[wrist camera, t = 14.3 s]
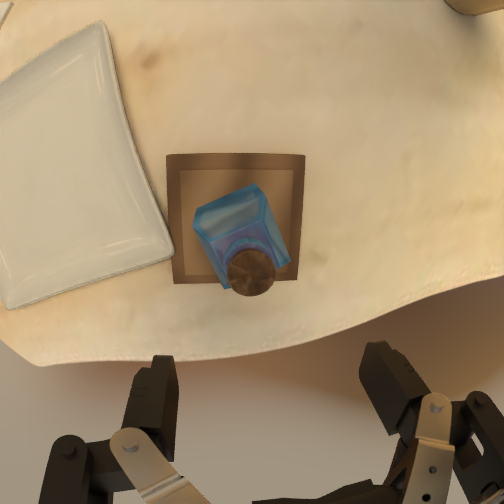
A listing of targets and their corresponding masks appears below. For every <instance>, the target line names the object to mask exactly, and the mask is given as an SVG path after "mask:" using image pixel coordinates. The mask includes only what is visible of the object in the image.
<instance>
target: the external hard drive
mask: <svg viewBox="0 0 504 504" xmlns="http://www.w3.org/2000/svg"><path fill="white" fill-rule="evenodd" d="M13 5H14V3H12V2H0V29H1V27H2V25H3V23H4V21H5V19H6V17H7V15H8V13H9V12H10V10H11V8H12V6H13Z"/></svg>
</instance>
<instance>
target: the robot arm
mask: <svg viewBox="0 0 504 504" xmlns="http://www.w3.org/2000/svg"><path fill="white" fill-rule="evenodd" d="M445 1H446V2H447V3H448V4H449V5H450V6H451V7H452V8H453V9H455V10H456V11H458V12H459V13H461V14H464V15H470V14H473V15H475V16H477V15H481V14H485V13H489V12H493V11H497V10H502V9H504V0H445ZM359 378H360V381H361V383H362V385H363V387H364V389H365V391H366V393H367V395H368V396H369V398H370V400H371V402H372V404H373V406H374V408H375V410H376V412H377V413H378V415H379V417H380V419H381V421H382V423H383V425H384V427H385V429H386V431H387V433H388V435H389V436H390V435H393V434H396V433H399V434H400V436H401V437H400V438H399V440H398V443H397V447H396V450H395V454H394V457H393V460H392V463H391V466H390V470H389V472H388V475H387V477H386V479H385V480H384V482H383V484H382V485H373V483H372V481H371V479H368V480H365V481H361V482H358V483H354V484H350V485H346V486H343V487H342V488H339V489H337V490H335V491H334V492H331V493H329V494H327V495H325V496H322V497H320V498H318V499H292V498H278V499H270V500H260V501H252V504H446V500H447V495H448V490H449V485H450V479H451V474H452V468H453V470H454V472H455V474H456V476H457V478H458V480H459V483H460V485H461V487H462V489H463V491H464V493H465V495H466V497H467V499H468V502H469V504H504V416H503V415H502V414H501V412H500V411H499V410H498V408H497V407H496V405H495V404H494V403H493V401H492V400H491V399H490V397H489V396H488V395H487V394H485V393H483V392H480V391H473V392H471V393H469V395H468V396H467V398H466V400H465V401H452V402H450V401H449V399H448V398H447V397H445V396H444V395H442V394H438V393H432V392H431V391H430V390H429V388H428V387H427V386H426V384H425V383H424V381H423V380H422V379H421V377H420V376H419V375H418V373H417V372H416V371H415V369H414V368H413V367H412V365H410V363H409V361H408V360H407V359H406V357H405V356H404V355H403V354H401V353H400V352H398V351H397V350H395V349H394V350H392V349H391V347H390V346H389V344H388V343H387V342H386V341H385V340H381V341H375V342H369V343H367V345H366V348H365V351H364V354H363V358H362V361H361V364H360V367H359ZM178 400H179V386H178V379H177V375H176V368H175V364H174V358H173V356H167V355H154V357H153V360H152V365H151V368H141V369H140V370H139V371H138V373H137V374H136V375H135V376H134V379H133V383H132V388H131V391H130V396H129V398H128V402H127V406H126V411H125V415H124V419H123V423H122V427H121V429H120V430H118V431H117V432H115V434H113V436H112V437H111V438H110V439H108V440H104V441H98V442H90V443H85V442H84V441H83V440H82V439H81V438H80V437H78V436H74V435H65V436H62V437H60V438H58V439H57V440H56V441H55V442H54V444H53V446H52V449H51V452H50V456H49V460H48V463H47V467H46V471H45V476H44V480H43V484H42V489H41V493H40V499H39V504H113V493H114V492H120V491H126V490H133V489H137V491H138V492H139V494H140V495H141V496H142V498H143V499H144V501H145V502H146V503H147V504H211V503H210V502H209V501H208V500H207V499H206V498H205V497H204V496H203V495H202V494H201V493H200V492H199V491H198V490H197V489H196V488H195V487H194V486H193V485H192V484H191V483H190V482H189V481H188V480H187V479H186V478H185V477H184V476H181V475H179V473H178V472H177V471H176V470H175V469H174V468H173V467H172V466H171V464H170V463H169V462H174V450H175V436H176V422H177V410H178ZM474 433H475V434H476V436H477V438H478V439H479V441H480V443H481V444H482V446H483V448H484V453H483V456H482V455H481V453H480V451H479V450H478V448H477V446H476V445H475V443H474V441H473V439H472V438H471V437H472V435H473V434H474Z"/></svg>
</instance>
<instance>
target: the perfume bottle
mask: <svg viewBox="0 0 504 504" xmlns="http://www.w3.org/2000/svg"><path fill="white" fill-rule="evenodd" d="M192 226H193V228H194V231H195V233H196V235H197V237H198V239H199V241H200V243H201V245H202V247H203V249H204V251H205V253H206V255H207V257H208V258H209V260H210V262H211V264H212V266H213V268H214V270H215V272H216V274H217V276H218V278H219V280H220V282H221V284H222V286H223V288H224V289H228V288H232V289H233V290H234V291H235V292H237V293H238V294H241V295H244V296H257V295H260V294H262V293H264V292H266V291H267V290H268V289H269V288H270V287H271V286H272V285H273V283H274V281H275V279H276V269H278V268H280V267H282V266H284V265H285V264H287V263H289V262H290V261H291V259H290V256H289V254H288V251H287V249H286V246H285V244H284V241H283V238H282V236H281V233H280V231H279V228H278V226H277V223H276V221H275V218H274V216H273V213H272V211H271V208H270V206H269V203H268V201H267V198H266V196H265V194H264V193H263V192H262V190H261V189H260V188H259V187H258V186H257V185H256V184H255V183H253V184H251V185H249V186H246V187H244V188H242V189H239V190H237V191H235V192H232V193H230V194H228V195H225V196H223V197H221V198H219V199H216V200H214V201H212V202H210V203H207V204H205V205H203V206H201V207H198V208H197V209H196V213H195V217H194V220H193V224H192Z"/></svg>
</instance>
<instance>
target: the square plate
mask: <svg viewBox="0 0 504 504" xmlns="http://www.w3.org/2000/svg"><path fill="white" fill-rule="evenodd" d="M174 253H175V251H174V246H173V243H172V240H171V237H170V235H169V232H168V229H167V227H166V224H165V222H164V219H163V217H162V214H161V212H160V210H159V207H158V205H157V202H156V200H155V197H154V195H153V192H152V190H151V187H150V185H149V182H148V180H147V177H146V174H145V172H144V169H143V166H142V163H141V161H140V158H139V155H138V152H137V149H136V146H135V143H134V140H133V137H132V134H131V130H130V127H129V124H128V120H127V117H126V113H125V109H124V105H123V101H122V97H121V93H120V88H119V84H118V79H117V74H116V69H115V64H114V59H113V53H112V48H111V43H110V38H109V33H108V30H107V27H106V25H105V23H104V22H103V21H96V22H94V23H92V24H89V25H87V26H85V27H83V28H82V29H80V30H78V31H76V32H74V33H72V34H70V35H68V36H67V37H65V38H63V39H62V40H60V41H58V42H57V43H55V44H53V45H52V46H50V47H48V48H47V49H45V50H44V51H42V52H41V53H39V54H38V55H36V56H35V57H33V58H32V59H30V60H29V61H27V62H26V63H24V64H23V65H22V66H20V67H19V68H17V69H16V70H15V71H13V72H12V73H11V74H9V75H8V76H7V77H5V78H4V79H3V80H2V81H0V300H1V301H2V303H3V305H4V306H5V308H6V309H7V310H9V311H12V310H16V309H19V308H22V307H24V306H27V305H30V304H32V303H35V302H38V301H41V300H43V299H46V298H49V297H51V296H54V295H57V294H60V293H62V292H65V291H68V290H71V289H74V288H77V287H80V286H83V285H86V284H90V283H93V282H96V281H99V280H102V279H105V278H109V277H112V276H115V275H118V274H122V273H125V272H128V271H131V270H135V269H138V268H141V267H144V266H148V265H151V264H154V263H157V262H160V261H162V260H165V259H168V258H170V257H172V256H173V255H174Z"/></svg>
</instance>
